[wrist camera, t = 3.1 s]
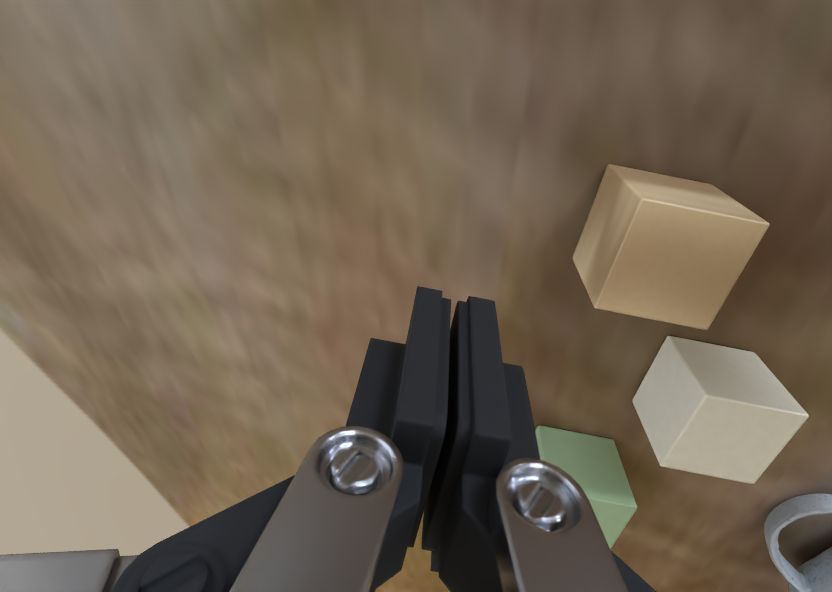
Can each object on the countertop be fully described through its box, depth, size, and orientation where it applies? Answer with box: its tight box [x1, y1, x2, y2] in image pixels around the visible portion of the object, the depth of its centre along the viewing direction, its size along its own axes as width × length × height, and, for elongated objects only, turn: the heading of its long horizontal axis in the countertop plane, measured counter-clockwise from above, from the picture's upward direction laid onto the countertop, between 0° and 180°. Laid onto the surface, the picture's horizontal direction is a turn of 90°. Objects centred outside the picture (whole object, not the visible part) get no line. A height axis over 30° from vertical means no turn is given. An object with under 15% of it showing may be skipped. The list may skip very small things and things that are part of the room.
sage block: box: [535, 425, 637, 549], centre depth 25 cm, size 4×4×4 cm
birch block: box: [573, 164, 769, 330], centre depth 18 cm, size 4×4×4 cm
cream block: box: [632, 336, 808, 484], centre depth 22 cm, size 4×4×4 cm
